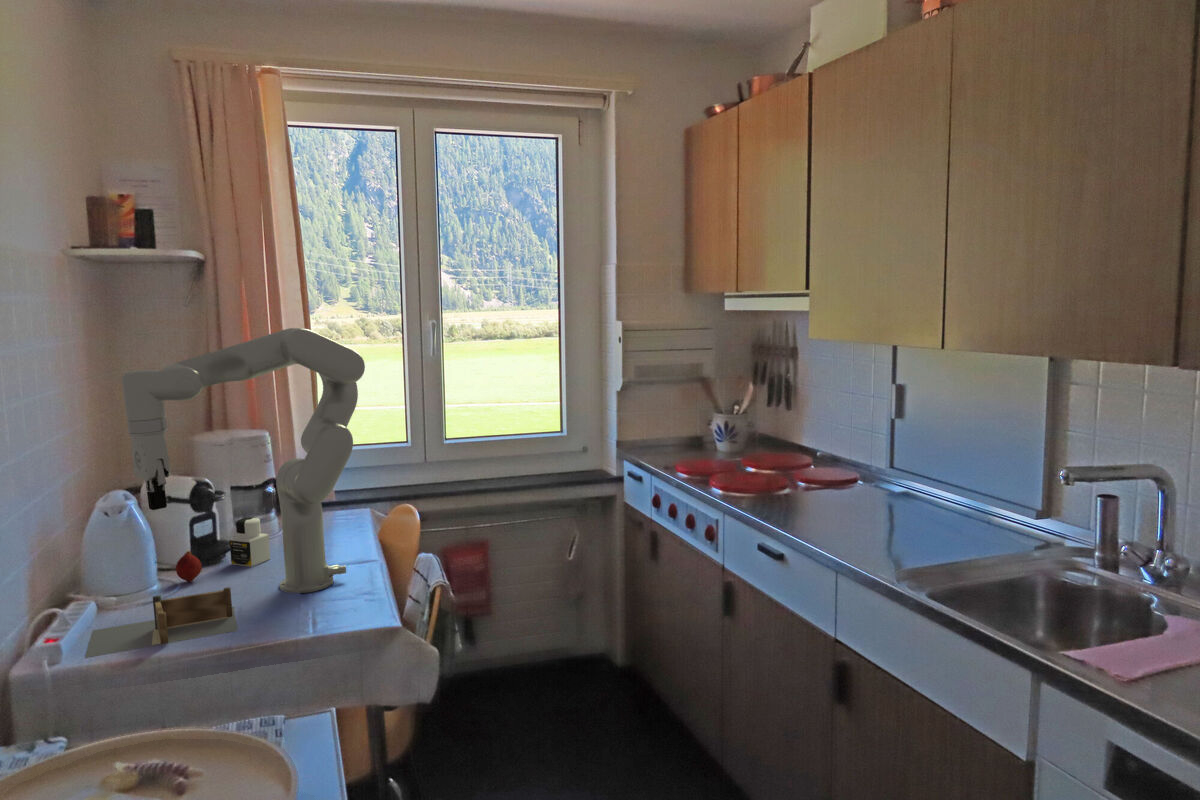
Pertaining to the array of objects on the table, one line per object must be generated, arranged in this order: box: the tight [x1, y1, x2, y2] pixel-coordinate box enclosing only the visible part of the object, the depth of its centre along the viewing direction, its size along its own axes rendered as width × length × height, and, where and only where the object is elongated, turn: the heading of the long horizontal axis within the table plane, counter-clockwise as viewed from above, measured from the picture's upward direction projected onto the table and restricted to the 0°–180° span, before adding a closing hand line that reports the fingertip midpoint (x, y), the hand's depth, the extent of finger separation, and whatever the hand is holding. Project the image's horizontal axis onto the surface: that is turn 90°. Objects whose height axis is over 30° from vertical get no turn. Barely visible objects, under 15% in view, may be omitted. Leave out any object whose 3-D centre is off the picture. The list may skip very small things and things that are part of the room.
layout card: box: [84, 606, 238, 659], centre depth 181 cm, size 28×16×1 cm, turn 116°
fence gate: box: [155, 602, 169, 645], centre depth 177 cm, size 11×1×6 cm, turn 32°
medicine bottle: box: [229, 516, 271, 568], centre depth 228 cm, size 7×7×12 cm
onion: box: [175, 550, 203, 583], centre depth 213 cm, size 6×6×8 cm
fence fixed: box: [152, 586, 233, 629], centre depth 185 cm, size 15×2×7 cm, turn 116°
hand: (158, 508), depth 187 cm, fingers closed
